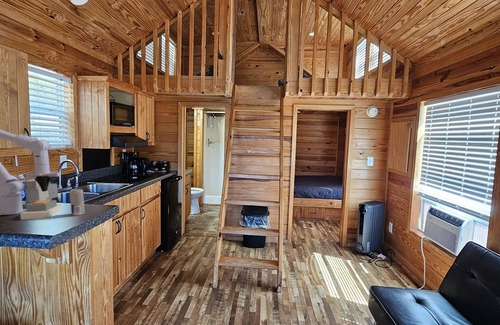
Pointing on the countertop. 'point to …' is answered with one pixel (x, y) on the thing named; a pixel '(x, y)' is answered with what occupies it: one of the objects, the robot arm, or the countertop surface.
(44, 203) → the button
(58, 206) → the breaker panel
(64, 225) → the countertop surface
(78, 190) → the energy drink
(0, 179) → the robot arm
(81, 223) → the countertop surface
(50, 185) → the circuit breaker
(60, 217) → the countertop surface
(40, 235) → the countertop surface
